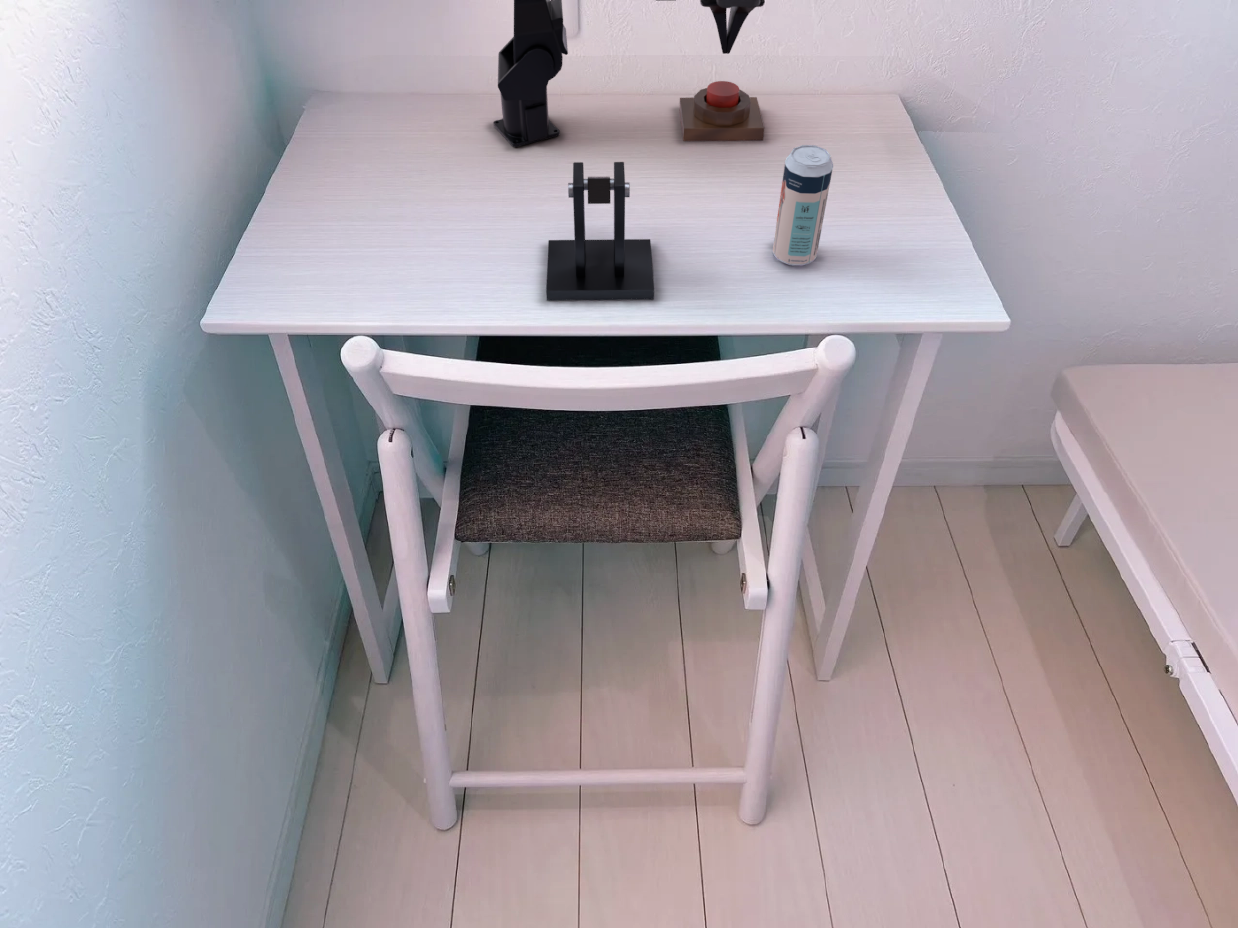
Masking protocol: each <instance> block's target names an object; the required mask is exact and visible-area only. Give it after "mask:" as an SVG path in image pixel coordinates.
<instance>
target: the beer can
mask: <svg viewBox="0 0 1238 928" xmlns="http://www.w3.org/2000/svg"><path fill="white" fill-rule="evenodd" d="M831 157H832V156H831V154H830V153H829V152H828V150H827V149H826V148H823V147H821V146H818V145H816V144H815V145H814V144H802V145H799V146H796V147H793V149H792V151H790V153H789V155H788V156H787V157H786V158H785V161H784V166H783V174H782V175H783V176H782V181H781V188H780V195H779V202H778V209H777V217H776V223H775V224H776V225H775V231H774V237H773V244H772V245H773V246H772V254H773V256H774V257H775V258H776V259H777V260H778V261H779V262H781V263H783V264H786V265H788V266H793V267H796V266H806V265H809V264H811V263H812V262H814V261H815V260H816V258H817V257H818V251H819V246H820V241H821V234H822V230H823V223H824V218H825V212H826V207H827V202H828V196H829V190H830V187H831V186H830V185H831V181H832V173H833V169H834V163H833V160H832V158H831Z"/></svg>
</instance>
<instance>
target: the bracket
mask: <svg viewBox="0 0 1238 928" xmlns="http://www.w3.org/2000/svg"><path fill="white" fill-rule="evenodd" d="M572 166H573V167H572V182H568V184H567V196H568V198H570V199H571V198H572V201H573V202H572V203H573V230H574V231H573V234H574V239H548V241H547V242H548V243H547V246H548V247H547V265H546V266H547V267H546V287H545V292H546V293H545V294H546V295H545V296H546V301H613V300H614V301H620V300H621V301H624V300H626V301H627V300H628V301H629V300H630V301H631V300H632V301H633V300H655V283H654V282H655V281H654V268H653V256H652V243H651V242H652V241H651V239H650V238H644V239H643V238H633V239H632V238H631V239H629V238H628V239H626V238H625V237H626V233H625V232H626V198H630V197H631V188H630V187H631V186H630V184H631V183H630V182H629V181H626V174H625V162H624V161H613V179H614V190H613V239H586V217H585V216H586V215H585V214H586V213H585V212H586V211H585V208H586V207H585V190H584V179H585V172H584V171H585V170H584V169H585V168H584V167H585V166H584V162H583V161H582V162H581V161H577V162H575V161H574V162H573V163H572Z"/></svg>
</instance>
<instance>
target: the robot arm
mask: <svg viewBox="0 0 1238 928" xmlns="http://www.w3.org/2000/svg"><path fill="white" fill-rule="evenodd" d="M655 1H657V2H658V1H660V2H661V1H667V2H668V1H669V2H670V1H671V2H673V1H675V0H655ZM699 2H700V6H702V7H704V8H709V9H710V12H711V13H712V16H713V19H714V23H715V25H716V28H717V33H718V38H719V43H720V47H721V52H722V54H723V55H729V54H731V51H732V49H733V47H734V44H735V42H736V40H737V38H738V35H739V33H740V31H741V29H742V27H743V25H744V23H745V21H746V20H747V17H748V16H749V14H750V13H751V12H752V11H754V9H755V8H762V7H764V5H765V3H766V2H765V0H699ZM727 9H729V16H728V21H727ZM563 55H565V56H567V55H569V49H568V37H567V28H566V27H565V24H564V12H563V1H562V0H513V36H512V37H511V39H510V40H509V41H508V42H507V43H506V44H505V45H504V46H503V47H502V48H501V49H500V51H499V52H498V55H497V88H498V90H499V92H500V103H501V113H502V114H501V115H502V118H501V119H497V120H493V122H492V123H493V127H494V128H495V129H496V130H497V131H498V132H499V134H501V136H502V137H503V138H504V139H505V140H506V141H507V142H508V143H509V144H510V145H511V147H513V148H518V147H522V146H526V145H530V144H533V143H537V142H540V141H544V140H547V139H551V138H555V137H559V136H560V135H561V132H560V129H559V128H558V127H557V126H555V124H554V123H553V122H552V121H551V120H550V119H549V118H550V117H549V104H548V103H549V101H548V100H549V99H548V84H549V82H550V81H551V80H552V79H554V78H555V77H557V75H558V74H559V72H561V70H562V67H563V58H564V57H563Z"/></svg>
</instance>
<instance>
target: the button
mask: <svg viewBox="0 0 1238 928" xmlns="http://www.w3.org/2000/svg"><path fill="white" fill-rule="evenodd" d="M706 88H707V97H706V102H707V104H709V105H710V106H714V107H718V108H730V107H734V106H737V104H738V99H739V89H740V86H739V85H738V84H736V83H734V82H731V81H727V80H717V81H712V82H711V83H709V84H708V85H707V87H706Z"/></svg>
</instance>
